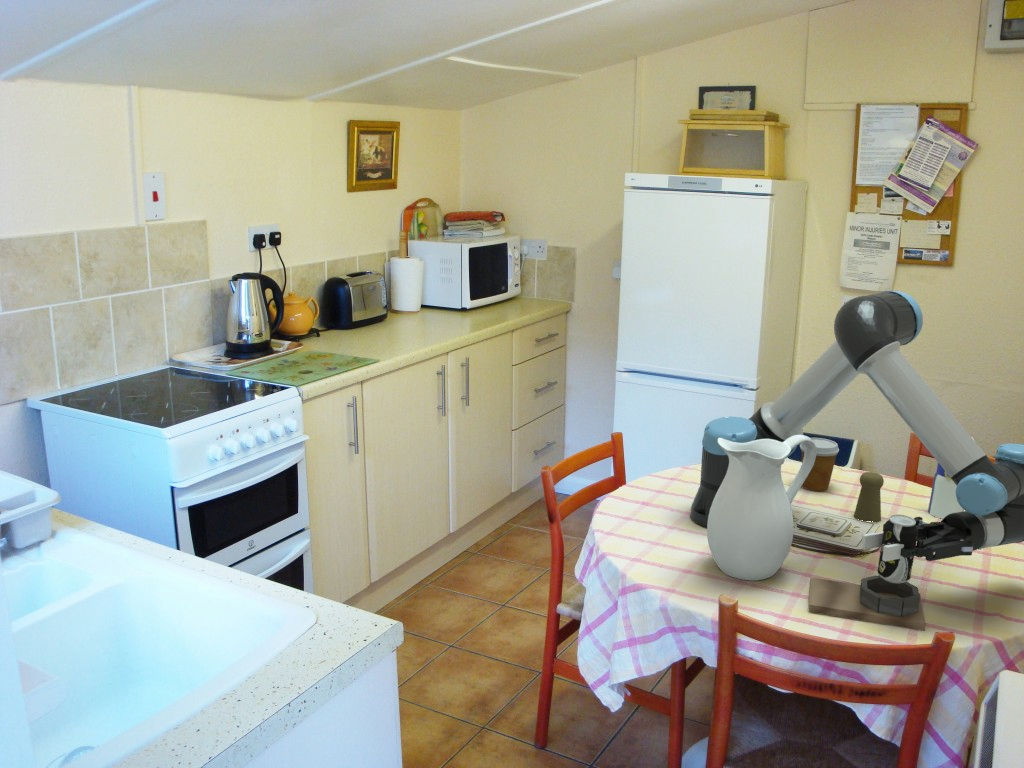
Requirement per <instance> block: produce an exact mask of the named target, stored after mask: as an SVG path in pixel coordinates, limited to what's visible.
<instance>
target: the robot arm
mask: <svg viewBox="0 0 1024 768" xmlns="http://www.w3.org/2000/svg"><path fill="white" fill-rule="evenodd" d="M923 315H924V314H923V311H922V309H921V307H920V305H919V303H918V302H917V300H916V299H914V297H912V296H911V295H910V294H908V293H905V292H902V291H899V290H884V291H882V292H879V293H874V294H868V295H861V296H856V297H854V298H852V299H849V300H847V302H845V303H844V304H842V306H841V307H840V308H839V310H838V311H837V313H836V315H835V318H834V322H833V323H834V324H833V331H834V337H835V341H834V342H833V343H832V344H831V345H830V346H829V347H828V348H827V349H826V350H825V351H824V352H823V353H822V354H820V356H819V357H817V359H816V360H814V362H813V363H812V364H811V365H810V366H809V367H807V369H806V370H805V371H804V372H803V373H802V374H801V375H800V376H799V377H798V378H797V379H796V380H795V382H794V383H793V384H791V385H790V386H789V387H788V388H787V389H786V390H785V391H784V392H783V393H782V394H781V395H780V396H779V398H777V399H776V401H767V402H764V403H763V404H762V406H760V408H758V410H756V411H755V412H754V413H753V414H752V416H750V417H749V418H746V417H741V416H728V417H725V416H722V417H719V418H715V419H713V420H711V421H710V422H708V423H707V424H706V426H705V427H704V430H703V437H702V441H701V444H702V449H701V452H702V453H701V465H700V466H701V467H700V470H701V471H700V481H699V482H700V483H699V486H698V488H697V489H698V490H697V492H696V494H695V496H694V499H693V501H692V503H691V507H690V518H691V520H692V522H694V523H696V524H697V525H699V526H701V527H703V528H707V523H708V516H709V512H710V508H711V505H712V503H713V500H714V498H715V495H716V493H717V491H718V489H719V488H720V486H721V484H722V482H723V480H724V478H725V476H726V473H727V470H728V466H729V457H728V455H727V453H726V452H725V451H724V450H723V449H722V448H721V447H720V446H719V445H718V441H717V440H718V438H723V439H725V440H728V441H732V442H737V443H747V442H751V441H755V440H759V439H773V440H777V441H780V442H784V441H785V440H786V439H788V438H790V437H792V436H794V435H804V428H805V426H807V425H808V424H809V422H811V421H812V420H813V419H814V418H815V417H816V416H818V414H820V412H821V411H823V409H824V408H826V407H827V406H828V404H830V402H832V401H833V400H834V399H835V398H837V396H838V395H839V394H840V393H841V392H842V391H843V390H844V389H846V388H847V387H848V386H849V385H850V384H851V383H852V382H853V381H854V380H855V379H856V378H857V377H858V376H859V375H860V374H862V375H863V374H864V375H866V376H867V377H868V378H869V379H870V381H871V382H872V383H873V385H875V387H876V388H877V389H878V390H879V392H880V393H881V394H882V395H883V397H884V398H885V399H886V400H887V402H888V403H889V404H890V405H891V406H892V408H893V409H894V410H895V412H896V413H897V414H898V415H899V417H901V419H902V420H903V421H904V423H906V425H907V426H908V427H909V429H910V430H911V431H912V433H914V435H915V436H916V437H917V438H918V439H919V441H920V442H921V444H923V446H924V447H925V448H926V449H927V451H928V452H929V453H930V454H931V456H932V457H933V458H934V459H935V460H936V461H937V462H936V463H937V464H938V463H939V464H940V465H941V466H942V468H943V469H944V470H945V471H946V473H947V474H948V475H949V476H950V477H951V479H952V480H953V482H954V483H955V484H956V485H957V487H956V498H957V501H958V503H959V505H960V506H961V507H962V508H963V509H964V511H963V512H957V513H951V514H949V515H947V516H946V517H945V518H944V519H941V521H931V522H924V521H923V517H921V516H915V517H914V518H913V519H914V520H915V521H916V526H917V528H918V535H917V541H916V546H914V547H911V548H904V544H892V545H886V546H884V548H883V557H882V560H883V561H890V560H896V559H901V558H908V557H913V556H914V557H917V558H919V559H920V558H923V557H924V558H925V560H926V561H927V562H933V561H939V560H943V559H949V558H950V559H951V558H955V557H960V556H972V555H973V551H976V550H977V551H979V550H980V551H981V550H982V549H988V548H992V547H999V546H1005V545H1011V544H1020V543H1023V542H1024V444H1022V443H1021V444H1019V443H1011V442H1010V443H1003V444H1000V445H999V446H998V447H997V448H996V453H995V456H994V462H993V461H992V460H991V459H990V457H988V456H987V454H986V453H985V452H984V450H983V449H982V448H981V447H980V445H978V444H977V442H976V441H975V439H974V440H973V439H972V437H973V436H971V435H970V434H969V432H968V431H967V429H965V427H963V425H962V424H961V423H960V422H959V421H958V419H957V418H956V417H955V416H954V415H953V413H952V412H951V411H950V410H949V408H948V407H947V406H946V405H945V404H944V403H943V401H941V399H940V397H938V395H937V394H936V393H935V392H934V391H933V389H932V388H931V387H930V386H929V384H928V383H927V382H926V381H925V379H923V377H922V376H920V373H919V372H918V371H917V370H916V369H915V368H914V366H913V365H912V364H911V363H910V362H909V361H908V360H907V358H906V357H905V355H903V354H902V352H901V350H900V349H901V348H900V347H901V346H905V345H908V344H910V343H912V341H914V340H915V339H916V338H918V336H919V335H920V333H921V331H922V328H923V324H924V320H923V318H924V317H923ZM797 447H798V445H797V446H795V447H794V448H793V449H792V450H791V452H790V454H789V455H788V456H787V457H786V458H785V460H786V459H787V458H789V457H790V456H791V455H792V454H793V453H794V452H795V451H796V449H797ZM884 525H885V523H883V526H882V531H877V532H876V531H875V532H871V533H870V532H869V533H865V534H862V540H861V549H862V550H865V551H866V550H870V549H878V548H881V545H882V538H883V531H884Z"/></svg>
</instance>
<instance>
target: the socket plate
mask: <svg viewBox="0 0 1024 768" xmlns="http://www.w3.org/2000/svg"><path fill="white" fill-rule="evenodd" d="M809 581H810V582H809V593H808V594H809V597H808V598H809V599H808V613H814V614H820V615H824V616H825V615H827V616H831V617H832V616H833V617H839V618H844V619H851V620H858V621H862V622H870V623H875V624H880V625H881V624H882V625H888V626H893V627H899V628H907V629H913V630H919V631H925V630H926V626H927V625H926V624H927V623H926V617H925V611H924V608H923V602H922V597H921V593H920V592H919V591H920V589H919V587H918V586H917V585H914V584H912V583H910V582H909V581H907V582H904V583H899V584H898V583H891V582H888V581H886V580H884V579H883V578H882V577H881V576H879V574H874V575H872V576H868V577H864V578H861V580H860V584H856V583H851V582H844V581H839V580H833V579H832V580H830V579H825V578H819V577H810V580H809Z"/></svg>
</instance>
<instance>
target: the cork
mask: <svg viewBox="0 0 1024 768" xmlns="http://www.w3.org/2000/svg"><path fill="white" fill-rule="evenodd" d="M859 483H860V486H861V487H860V491H859V494H858V498H857V502H856V506H855V509H854V514H853V517H854V519H856V520H858V519H859V520H858V521H860V520H863V521H871V522H872V521H873V522H876V523H879V522H881V521H882V509H881V507H882V506H881V504H882V503H881V502H882V501H881V498H882V497H881V488H883V486H884V483H885V481H884V477H883V475H882V474H880V473H878V472H874V471H873V472H872V471H866V472H863V473H862V474H861V475H860V478H859ZM863 521H862V522H863Z"/></svg>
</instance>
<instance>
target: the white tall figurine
mask: <svg viewBox="0 0 1024 768" xmlns="http://www.w3.org/2000/svg"><path fill="white" fill-rule="evenodd" d="M971 437H972V439H973V440H974V441H975V439H974V437H973V436H971ZM936 466H937V467H936V472H935V474H934V476H933V478H932V486H931V493H930V499H929V503H928V508H927V513H928V514H929V513H930V514H931V515H930V514H929V515H930V516H932V515H933V516H932V517H934V516H935V518H937V519H940V518H941V519H940V520H943V519H944V518H945V517H946V516H947V515H949V514H951V513H957V512H963V511H965V510H964V509H963V508H962V507H961V506H960V505H959V503H958V501H957V498H956V487H957V485H956V484H955V483H954V482H953V480H952V479H951V477H950V476H949V475H948V474H947V473H946V471H945V470H944V469H943V468H942V466H941V465H940V464H939V463H938V462H937V465H936Z"/></svg>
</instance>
